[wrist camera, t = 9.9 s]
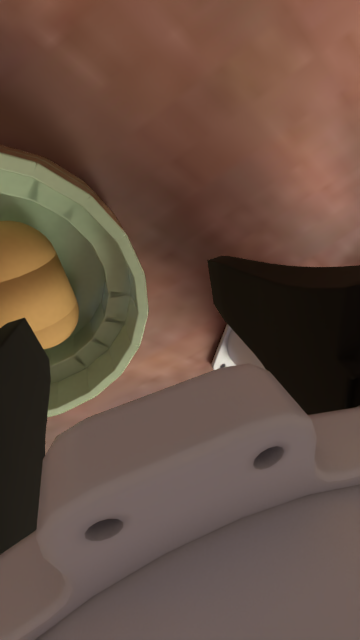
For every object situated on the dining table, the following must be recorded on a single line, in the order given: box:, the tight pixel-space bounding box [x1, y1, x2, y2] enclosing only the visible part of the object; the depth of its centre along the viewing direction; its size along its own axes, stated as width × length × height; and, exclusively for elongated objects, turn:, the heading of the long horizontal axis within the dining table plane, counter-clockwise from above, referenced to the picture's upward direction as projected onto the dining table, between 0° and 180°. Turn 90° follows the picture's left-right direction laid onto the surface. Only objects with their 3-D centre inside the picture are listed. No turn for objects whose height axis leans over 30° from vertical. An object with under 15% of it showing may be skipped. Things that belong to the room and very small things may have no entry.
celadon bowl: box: [0, 145, 149, 417], centre depth 16 cm, size 14×14×6 cm
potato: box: [0, 221, 79, 349], centre depth 16 cm, size 7×4×4 cm, turn 11°
